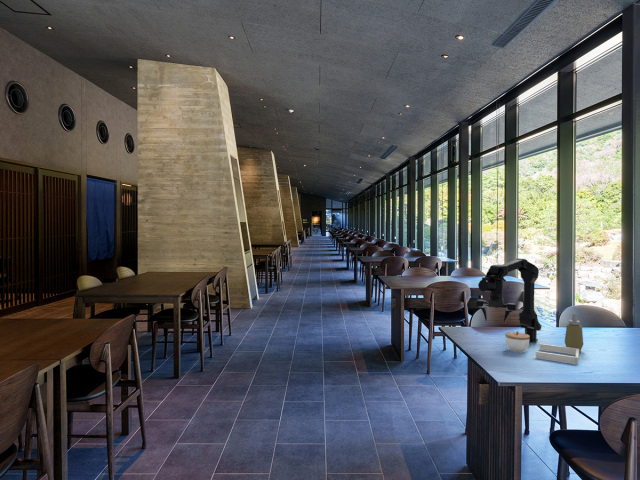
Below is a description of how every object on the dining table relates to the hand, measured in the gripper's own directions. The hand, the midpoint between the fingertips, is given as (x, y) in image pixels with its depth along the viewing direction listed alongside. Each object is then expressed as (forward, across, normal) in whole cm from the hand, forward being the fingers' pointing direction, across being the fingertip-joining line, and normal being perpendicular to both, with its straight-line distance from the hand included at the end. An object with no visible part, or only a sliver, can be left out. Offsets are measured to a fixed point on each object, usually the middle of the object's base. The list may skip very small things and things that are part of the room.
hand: (495, 322), depth 214 cm
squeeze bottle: (+12, +33, +18) cm, 39 cm away
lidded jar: (+13, +10, 0) cm, 16 cm away
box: (+12, +27, +1) cm, 30 cm away
